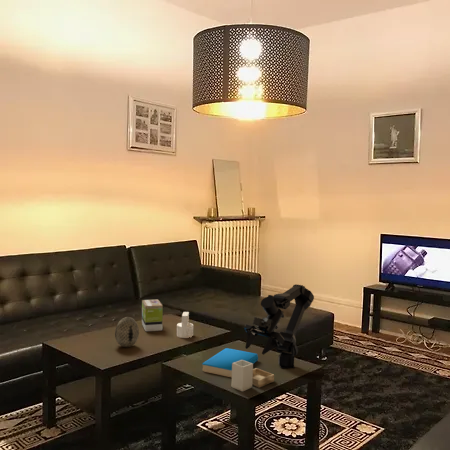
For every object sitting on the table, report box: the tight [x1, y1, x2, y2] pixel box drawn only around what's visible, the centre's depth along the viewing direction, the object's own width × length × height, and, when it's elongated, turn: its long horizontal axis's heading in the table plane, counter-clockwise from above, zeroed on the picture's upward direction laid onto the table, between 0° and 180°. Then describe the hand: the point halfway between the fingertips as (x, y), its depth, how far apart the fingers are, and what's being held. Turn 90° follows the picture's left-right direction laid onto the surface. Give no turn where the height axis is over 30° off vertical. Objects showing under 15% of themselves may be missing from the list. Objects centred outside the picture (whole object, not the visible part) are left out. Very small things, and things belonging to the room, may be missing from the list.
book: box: [201, 347, 259, 378], centre depth 225 cm, size 17×4×25 cm
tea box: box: [141, 299, 164, 332], centre depth 282 cm, size 15×10×15 cm
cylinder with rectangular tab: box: [176, 311, 194, 339], centre depth 268 cm, size 9×9×12 cm
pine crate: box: [252, 367, 275, 388], centre depth 208 cm, size 10×10×3 cm
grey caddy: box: [230, 360, 254, 392], centre depth 200 cm, size 6×6×10 cm
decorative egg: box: [114, 316, 140, 348], centre depth 246 cm, size 12×12×15 cm
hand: (254, 351), depth 206 cm, fingers open, 9 cm apart
